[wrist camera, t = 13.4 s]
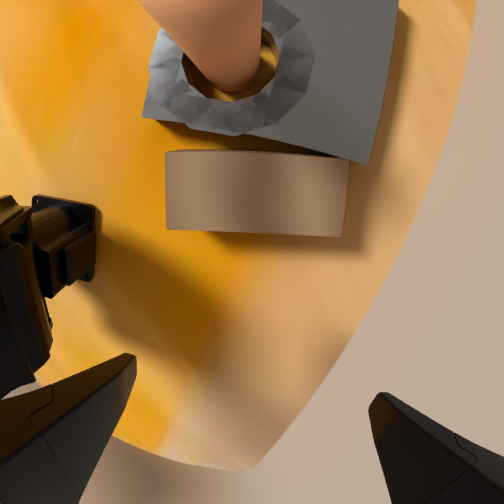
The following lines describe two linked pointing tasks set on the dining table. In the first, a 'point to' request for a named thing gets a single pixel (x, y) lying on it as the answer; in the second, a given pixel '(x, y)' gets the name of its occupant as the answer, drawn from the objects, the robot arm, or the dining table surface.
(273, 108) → the bore plate
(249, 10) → the round peg
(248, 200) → the square bit
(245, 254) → the dining table surface
